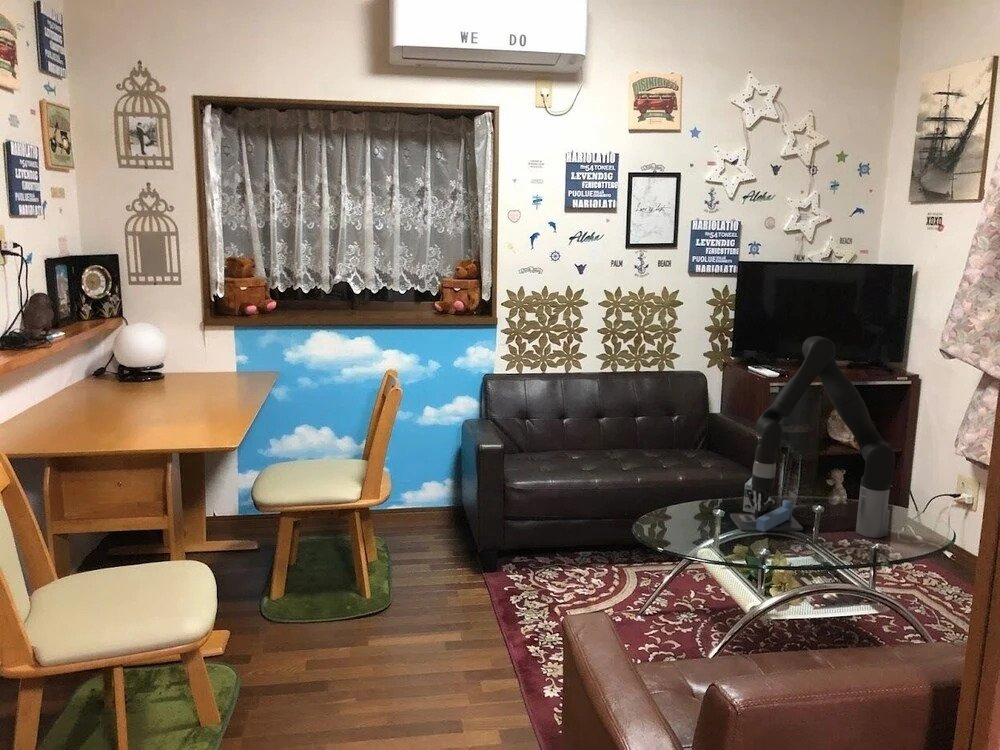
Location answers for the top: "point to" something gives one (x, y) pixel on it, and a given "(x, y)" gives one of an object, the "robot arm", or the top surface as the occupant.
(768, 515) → the swing arm
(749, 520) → the plate
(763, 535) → the top surface
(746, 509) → the light bulb box
